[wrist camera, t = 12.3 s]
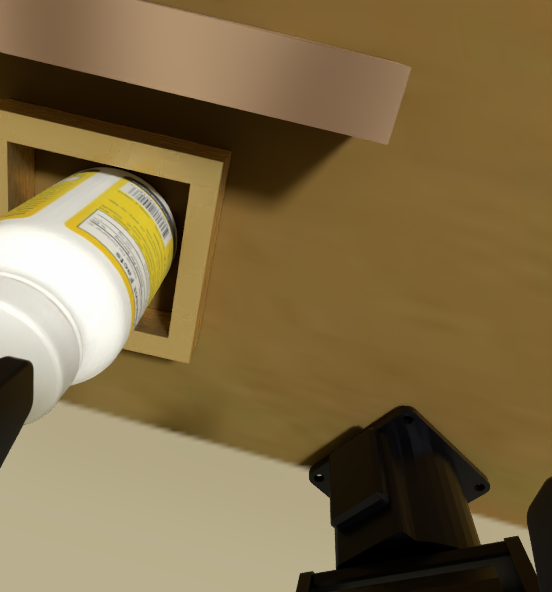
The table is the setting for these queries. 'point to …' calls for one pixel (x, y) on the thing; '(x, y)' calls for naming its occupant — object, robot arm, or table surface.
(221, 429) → the table surface
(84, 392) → the table surface
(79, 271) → the supplement bottle
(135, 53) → the brown wooden bar
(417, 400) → the table surface
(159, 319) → the frame
